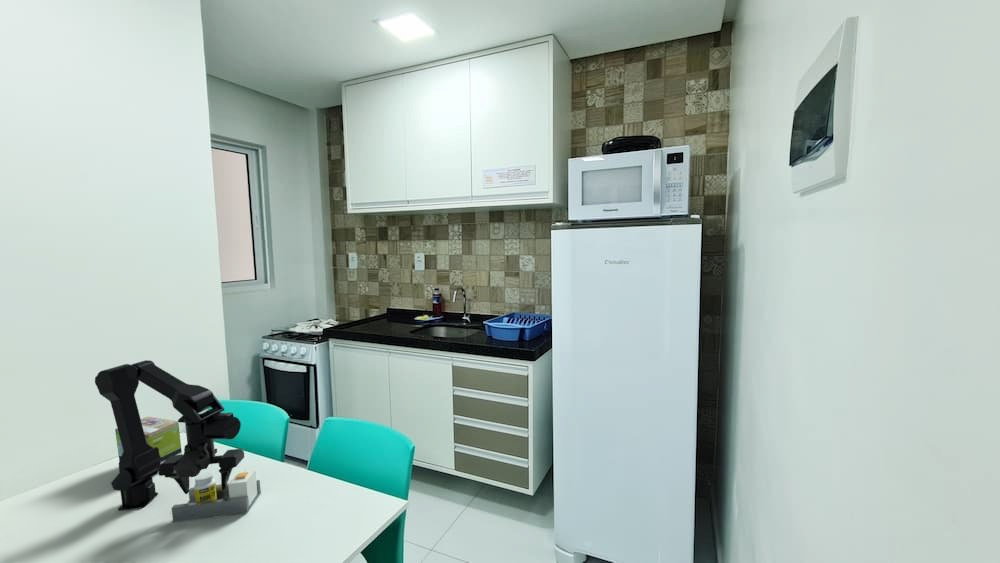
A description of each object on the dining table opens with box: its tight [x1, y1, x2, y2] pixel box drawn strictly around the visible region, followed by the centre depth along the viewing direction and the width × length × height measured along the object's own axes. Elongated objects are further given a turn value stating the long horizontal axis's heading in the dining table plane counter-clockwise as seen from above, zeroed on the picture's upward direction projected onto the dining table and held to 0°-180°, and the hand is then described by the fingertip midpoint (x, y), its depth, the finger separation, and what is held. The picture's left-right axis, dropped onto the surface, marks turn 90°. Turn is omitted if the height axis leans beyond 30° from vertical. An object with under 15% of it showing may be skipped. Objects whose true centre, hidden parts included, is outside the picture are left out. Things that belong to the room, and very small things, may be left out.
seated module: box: [227, 469, 258, 505], centre depth 114 cm, size 4×6×8 cm
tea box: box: [114, 416, 183, 478], centre depth 135 cm, size 15×10×15 cm, turn 73°
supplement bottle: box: [193, 471, 217, 502], centre depth 113 cm, size 5×5×8 cm
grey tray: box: [171, 479, 262, 523], centre depth 113 cm, size 18×9×4 cm, turn 100°
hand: (205, 491), depth 113 cm, fingers open, 9 cm apart
